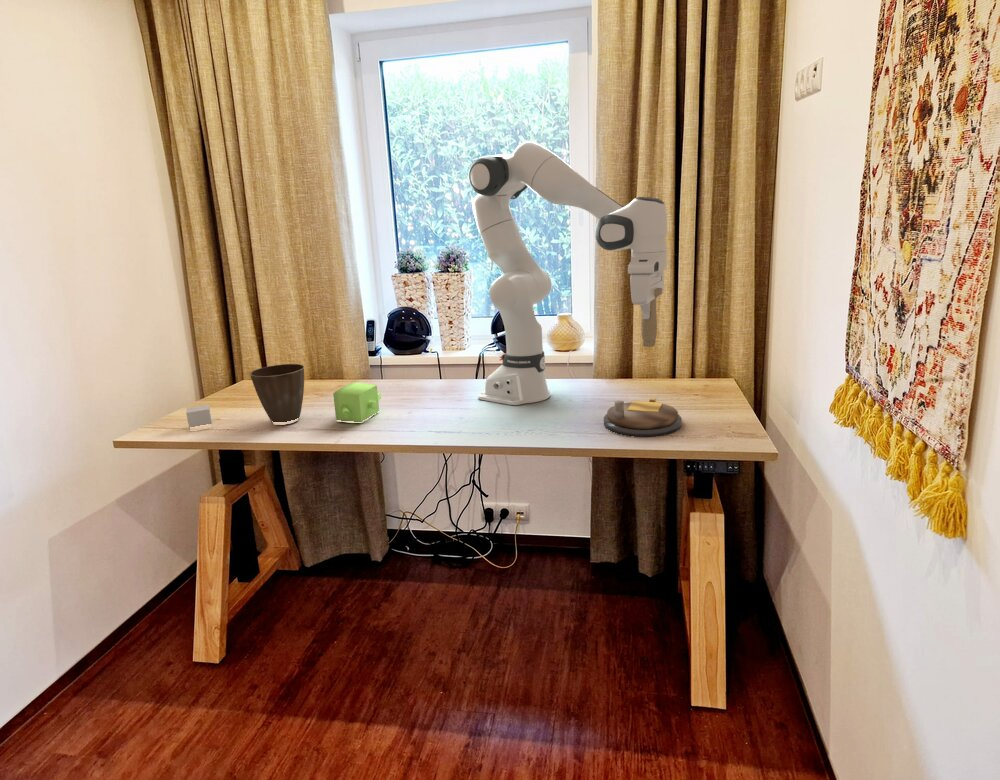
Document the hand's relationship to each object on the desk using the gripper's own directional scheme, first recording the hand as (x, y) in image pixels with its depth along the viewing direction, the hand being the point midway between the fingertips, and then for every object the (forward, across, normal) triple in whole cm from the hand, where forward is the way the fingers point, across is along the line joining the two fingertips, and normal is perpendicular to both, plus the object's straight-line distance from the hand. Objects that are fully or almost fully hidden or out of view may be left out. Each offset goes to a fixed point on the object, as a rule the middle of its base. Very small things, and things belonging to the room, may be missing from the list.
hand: (648, 317), depth 162 cm
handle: (+8, 0, 0) cm, 8 cm away
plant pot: (+27, +34, -99) cm, 109 cm away
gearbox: (+27, +26, -79) cm, 87 cm away
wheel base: (+27, +7, 0) cm, 28 cm away
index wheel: (+25, +7, 0) cm, 26 cm away
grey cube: (+27, +46, -122) cm, 133 cm away
